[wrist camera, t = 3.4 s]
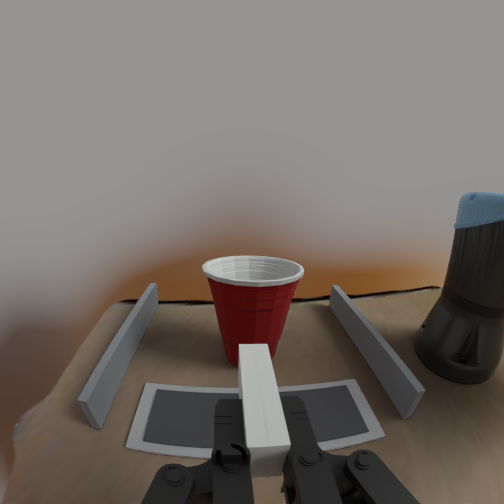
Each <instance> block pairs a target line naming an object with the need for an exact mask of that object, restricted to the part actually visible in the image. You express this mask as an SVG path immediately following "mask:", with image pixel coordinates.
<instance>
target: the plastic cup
mask: <svg viewBox="0 0 504 504" xmlns="http://www.w3.org/2000/svg"><path fill="white" fill-rule="evenodd" d="M202 268H203V271H204V273H205V276H207V278H208V282H209V285H210V288H211V293H212V295H213V300H214V305H215V310H216V315H217V319H218V324H219V329H220V333H221V336H222V339H223V344H224V349H225V352H226V355H227V357H228V360H229V361H230V362H231V363H232V364H233V365H235V366H238V362H239V344H268V348H269V353H270V357H271V360H272V358H273V356H274V354H275V351H276V347H277V344H278V341H279V339H280V337H281V334H282V330H283V327H284V324H285V320H286V317H287V313H288V310H289V306H290V303H291V299H292V298H293V295H294V291H295V289H296V287H297V283H298V282H299V279H300V277H302V276H303V273H304V270H303V267H302V266H301V265H299V264H297V263H295V262H292V261H288V260H284V259H279V258H273V257H266V256H231V257H223V258H217V259H214V260H211V261H207V262H206V263H205V264H204V265H203V266H202Z"/></svg>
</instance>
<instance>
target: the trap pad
mask: <svg viewBox="0 0 504 504" xmlns="http://www.w3.org/2000/svg"><path fill="white" fill-rule="evenodd" d="M278 392H279V396H280V397H284V396H298V397H299V398H300V399H301V400H302V401H303V402H304V404H305V407H306V410H307V413H308V416H309V420H310V422H311V425H312V428H313V431H314V435H315V438H316V441H317V443H318V445H319V447H320V448H321V449H322V450H323V451H331V450H336V449H341V448H345V447H350V446H354V445H358V444H362V443H366V442H370V441H374V440H377V439H381V438H384V437H385V436H386V435H385V433H384V431H383V430H382V428H381V426H380V424H379V422H378V420H377V418H376V417H375V415H374V413H373V411H372V409H371V407H370V405H369V404H368V402H367V400H366V398H365V396H364V394H363V393H362V391H361V389H360V387H359V385H358V384H357V382H356V380H355V379H349V380H342V381H335V382H327V383H318V384H308V385H297V386H282V387H278ZM219 399H239V388H211V387H190V386H176V385H164V384H155V383H146V384H145V387H144V390H143V393H142V396H141V399H140V402H139V405H138V408H137V411H136V414H135V417H134V420H133V423H132V427H131V430H130V433H129V436H128V439H127V443H126V446H125V447H126V449H131V450H136V451H141V452H147V453H153V454H160V455H168V456H176V457H186V458H199V459H210V458H211V453H212V450H213V448H214V414H215V405H216V404H217V402H218V401H219Z"/></svg>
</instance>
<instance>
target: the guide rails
mask: <svg viewBox="0 0 504 504" xmlns="http://www.w3.org/2000/svg"><path fill="white" fill-rule="evenodd" d="M157 307H158V297H157V288H156V283H150V285H149V286H148V288H147V289H146V291H145V292H144V293H143V295H142V296H141V298H140V299H139V301H138V302H137V304H136V305H135V307H134V308H133V310H132V311H131V313H130V314H129V316H128V317H127V319H126V320H125V322H124V323H123V325H122V326H121V328H120V329H119V331H118V332H117V334H116V336H115V337H114V339H113V340H112V342H111V344H110V345H109V347H108V348H107V350H106V352H105V353H104V355H103V356H102V358H101V360H100V361H99V363H98V365H97V366H96V368H95V370H94V371H93V373H92V375H91V377H90V378H89V380H88V382H87V383H86V385H85V387H84V389H83V391H82V392H81V394H80V396H79V398H78V399H77V400H78V402H79V404H80V406H81V408H82V410H83V412H84V414H85V416H86V418H87V419H88V421H89V423H90V425H91V427H92V428H96V429H99V430H101V429H102V426H103V424H104V421H105V419H106V416H107V414H108V412H109V409H110V407H111V405H112V402H113V400H114V398H115V395H116V393H117V391H118V389H119V386H120V384H121V382H122V380H123V377H124V375H125V373H126V371H127V369H128V366H129V364H130V362H131V360H132V358H133V356H134V354H135V352H136V350H137V347H138V345H139V343H140V341H141V339H142V337H143V335H144V333H145V331H146V329H147V327H148V325H149V323H150V321H151V319H152V317H153V315H154V313H155V311H156V309H157ZM329 307H330V309H331V310H332V312H333V313H334V315H335V316H336V318H337V319H338V320H339V322H340V323H341V325H342V326H343V328H344V329H345V331H346V332H347V334H348V335H349V337H350V338H351V340H352V341H353V343H354V344H355V346H356V347H357V349H358V350H359V352H360V353H361V355H362V356H363V358H364V359H365V361H366V362H367V364H368V365H369V367H370V368H371V370H372V371H373V373H374V374H375V376H376V377H377V379H378V380H379V382H380V383H381V385H382V387H383V388H384V390H385V391H386V393H387V394H388V396H389V398H390V399H391V401H392V402H393V404H394V405H395V407H396V409H397V410H398V412H399V413H400V415H401V417H402V418H403V419H406V418H409V417H411V416H412V414H413V412H414V411H415V409H416V407H417V405H418V404H419V402H420V400H421V398H422V396H423V394H424V393H425V391H426V390H425V388H424V387H423V386H422V384H421V383H420V382H419V381H418V379H417V378H416V377H415V376H414V374H413V373H412V372H411V371H410V369H409V368H408V367H407V366H406V364H405V363H404V362H403V361H402V360H401V358H400V357H399V356H398V355H397V353H396V352H395V351H394V350H393V349H392V347H391V346H390V345H389V344H388V343H387V341H386V340H385V339H384V338H383V337H382V336H381V334H380V333H379V332H378V331H377V330H376V328H375V327H374V326H373V325H372V324H371V323H370V321H369V320H368V319H367V318H366V317H365V316H364V315H363V313H362V312H361V311H360V310H359V309H358V308H357V307H356V305H355V304H354V303H353V302H352V301H351V300H350V299H349V297H348V296H347V295H346V294H345V293H344V292H343V291H342V290H341V288H340V287H339V286H338V285H332V290H331V296H330V302H329Z"/></svg>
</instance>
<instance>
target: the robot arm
mask: <svg viewBox="0 0 504 504" xmlns="http://www.w3.org/2000/svg"><path fill="white" fill-rule="evenodd" d="M454 228H455V234H454V240H453V246H452V251H451V255H450V260H449V265H448V269H447V274H446V277H445V281H444V286H443V289H442V293H441V295H440V297H439V299H438V301H437V302H436V304H435V305H434V307H433V308H432V310H431V311H430V313H429V314H428V316H427V318H426V320H424V322H423V323H422V324H421V326H420V328H419V331H418V334H417V337H416V340H415V349H416V352H417V354H418V356H419V357H420V359H421V360H422V361H423V362H424V363H425V365H427V366H428V367H429V368H430V369H431V370H433V371H434V372H436V373H437V374H439V375H441V376H443V377H445V378H447V379H449V380H452V381H456V382H460V383H469V384H472V383H480V382H483V381H485V380H487V379H489V378H490V377H491V376H492V375H493V374H494V372H495V370H496V368H497V366H498V364H499V362H500V360H501V357H502V351H503V346H504V194H500V193H486V192H470V193H466V194H465V195H463V196H462V197H461V199H460V201H459V207H458V213H457V218H456V223H455V224H454ZM238 388H239V399H219V401H218V402H217V404H216V405H215V414H214V448H213V450H212V453H211V458H210V459H209V460H208V461H207V462H205V463H203V464H201V465H197V466H192V467H185V466H182V465H180V464H167V465H165V466H163V467H161V468H160V469H159V470H158V471H157V473H156V475H155V477H154V479H153V481H152V483H151V485H150V487H149V489H148V491H147V493H146V495H145V497H144V499H143V501H142V503H141V504H254V497H253V489H252V479H251V478H254V477H270V476H281V475H282V472H283V475H284V482H283V485H282V487H281V493H282V492H284V494H285V499H286V504H420V503H419V502H418V501H417V500H416V499H415V498H414V497H413V495H412V494H411V493H410V492H409V491H408V490H407V489H406V488H405V487H404V486H403V484H402V483H401V482H400V481H399V480H398V479H397V478H396V477H395V475H394V474H393V473H392V472H391V471H390V470H389V469H388V467H387V466H386V465H385V464H384V463H383V462H382V461H381V459H380V458H379V457H378V456H377V455H376V454H375V453H373V452H372V451H369V450H358V451H355V452H353V453H352V454H351V455H350V456H342V455H332V454H329V453H326V452H325V451H323V450H322V449H321V448H320V447H319V445H318V443H317V441H316V438H315V435H314V431H313V428H312V425H311V422H310V420H309V416H308V413H307V410H306V407H305V404H304V402H303V401H302V400H301V399H300V398H299V397H298V396H284V397H280V396H279V392H278V387H277V383H276V379H275V374H274V370H273V366H272V361H271V357H270V353H269V348H268V344H239V362H238Z"/></svg>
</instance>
